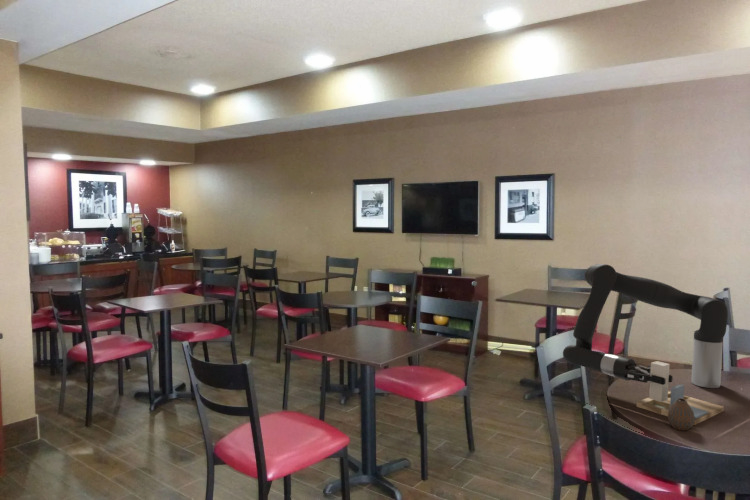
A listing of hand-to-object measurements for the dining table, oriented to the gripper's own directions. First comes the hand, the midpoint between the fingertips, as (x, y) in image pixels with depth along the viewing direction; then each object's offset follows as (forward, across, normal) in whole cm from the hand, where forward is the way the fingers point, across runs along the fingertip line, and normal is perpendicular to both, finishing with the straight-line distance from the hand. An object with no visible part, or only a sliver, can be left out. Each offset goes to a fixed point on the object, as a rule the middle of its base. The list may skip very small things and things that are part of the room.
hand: (668, 380), depth 166 cm
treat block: (-3, 0, +7) cm, 8 cm away
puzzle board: (+1, +6, +11) cm, 12 cm away
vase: (+8, -9, +11) cm, 16 cm away
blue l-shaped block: (+6, 0, +8) cm, 10 cm away
